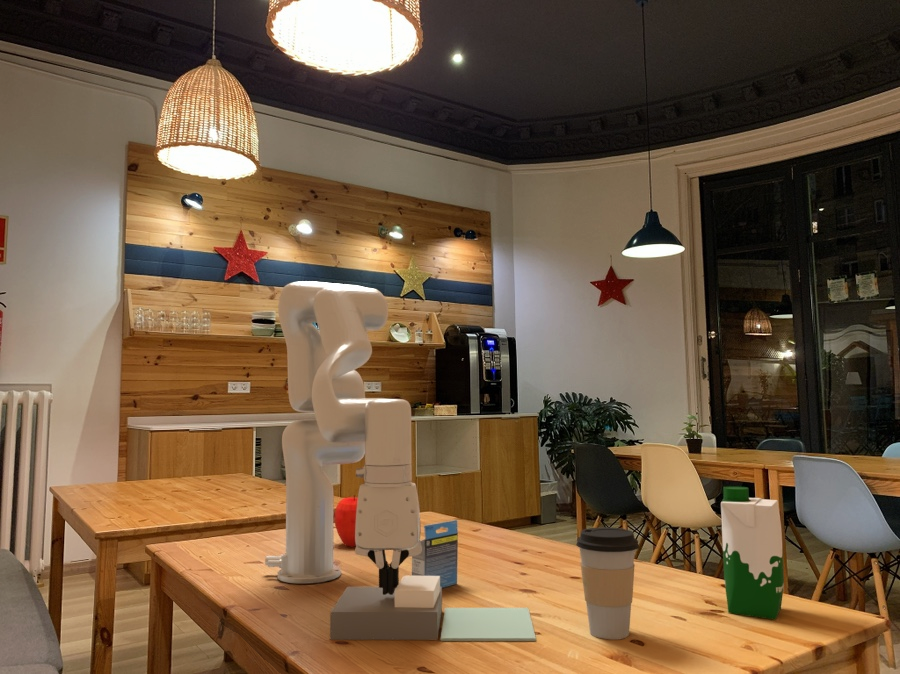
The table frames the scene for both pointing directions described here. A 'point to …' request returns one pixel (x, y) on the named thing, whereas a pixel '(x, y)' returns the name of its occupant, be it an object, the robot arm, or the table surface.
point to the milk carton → (752, 554)
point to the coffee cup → (608, 579)
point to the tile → (417, 591)
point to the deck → (381, 617)
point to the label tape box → (438, 553)
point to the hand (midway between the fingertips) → (388, 592)
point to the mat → (487, 624)
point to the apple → (346, 520)
